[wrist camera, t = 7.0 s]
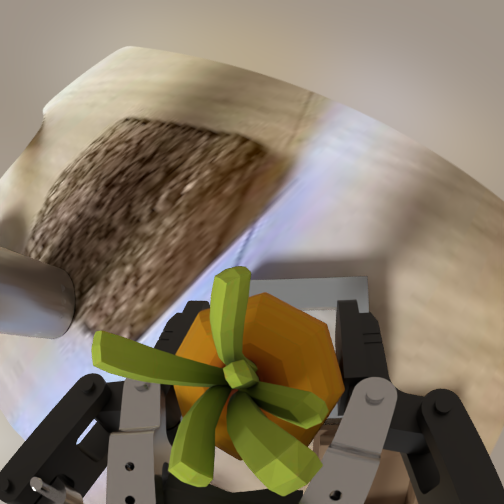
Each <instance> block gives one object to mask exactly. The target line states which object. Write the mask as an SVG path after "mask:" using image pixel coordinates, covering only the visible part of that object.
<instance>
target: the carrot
mask: <svg viewBox="0 0 504 504" xmlns="http://www.w3.org/2000/svg"><path fill="white" fill-rule="evenodd" d="M250 279H251V272H250V271H249V270H248V269H247V268H246V267H243V266H236V267H232V268H228V269H225V270H224V271H222V272H221V273H219V274H217V275H216V276H215V278H214V283H213V288H212V293H211V303H210V308H209V309H205V310H202V311H200V312H199V313H198V315H197V317H196V318H195V320H194V322H193V324H192V326H191V327H190V329H189V331H188V333H187V335H186V336H185V338H184V340H183V342H182V344H181V345H180V347H179V349H178V351H177V353H176V355H173V354H170V353H167V352H164V351H161V350H158V349H155V348H152V347H149V346H146V345H143V344H141V343H138V342H135V341H132V340H130V339H127V338H124V337H122V336H118V335H115V334H112V333H108V332H105V331H97V332H96V333H95V335H94V338H93V344H92V350H91V352H92V360H93V366H95V367H97V368H99V369H102V370H104V371H106V372H108V373H111V374H115V375H118V376H122V377H126V378H130V379H134V380H138V381H143V382H150V383H158V384H168V385H174V389H175V393H176V396H177V400H178V404H179V407H180V411H181V414H182V417H183V419H182V421H181V423H180V425H179V427H178V430H177V433H176V436H175V439H174V442H173V446H172V449H171V455H170V461H169V468H168V471H169V472H170V473H172V474H173V475H174V476H175V477H177V478H178V479H179V480H180V481H182V482H184V483H187V484H190V485H193V486H196V487H206V486H207V485H208V484H209V483H210V482H211V481H212V480H213V472H214V458H215V446H216V447H218V448H219V449H221V450H223V451H224V452H226V453H228V454H229V455H231V456H233V457H235V458H236V459H238V460H243V461H244V462H245V463H246V465H247V466H248V467H249V469H250V470H251V471H252V472H253V473H254V474H255V475H256V476H257V478H258V479H259V480H260V481H261V482H262V483H263V484H264V485H265V486H266V487H267V488H268V489H269V490H271V491H273V492H275V493H277V494H279V495H281V496H286V495H288V494H290V493H292V492H294V491H296V490H297V489H299V488H301V487H303V486H305V485H307V484H308V483H309V482H310V481H311V479H312V478H313V477H314V476H315V475H316V473H317V472H318V471H319V470H320V469H321V468H322V466H323V464H322V463H321V461H320V459H319V458H318V456H317V455H316V453H315V452H313V451H312V450H311V449H309V448H308V446H309V444H310V443H311V442H312V440H313V439H314V437H315V436H316V434H317V433H318V432H319V430H320V429H321V427H322V426H323V424H324V423H325V421H326V420H327V418H328V417H329V415H330V413H331V412H332V410H333V409H334V407H335V406H336V404H337V402H338V401H339V399H340V397H341V396H342V394H343V393H344V391H345V387H344V383H343V379H342V376H341V372H340V368H339V365H338V361H337V358H336V354H335V351H334V347H333V344H332V340H331V337H330V333H329V330H328V326H327V324H326V323H324V322H322V321H320V320H318V319H316V318H314V317H312V316H310V315H309V314H307V313H305V312H303V311H301V310H299V309H297V308H295V307H293V306H291V305H290V304H288V303H286V302H284V301H282V300H280V299H278V298H276V297H274V296H273V295H271V294H269V293H267V292H264V293H260V294H257V295H254V296H250V297H249V290H250Z"/></svg>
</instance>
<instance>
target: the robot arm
mask: <svg viewBox="0 0 504 504" xmlns="http://www.w3.org/2000/svg"><path fill="white" fill-rule="evenodd" d="M74 308H75V293H74V287H73V283H72V281H71V279H70V277H69V275H68V274H67V273H66V272H65V271H64V270H63V269H61V268H58V267H55V266H52V265H49V264H46V263H44V262H41V261H38V260H36V259H33V258H30V257H27V256H24V255H22V254H19V253H16V252H14V251H11V250H8V249H6V248H3V247H0V333H2V334H10V335H18V336H27V337H36V338H47V339H56V338H58V337H61V336H62V335H63V334H64V333H65V332H66V330H67V329H68V327H69V325H70V323H71V321H72V317H73V314H74ZM209 308H210V305H209V302H208V301H188V302H187V304H186V306H185V308H184V310H183V312H182V313H176V314H175V315H174V316H173V317H172V318H171V319H170V320H169V321H168V322H167V324H166V326H165V328H164V330H163V332H162V333H161V335H160V337H159V340H158V341H157V343H156V345H155V347H154V348H155V349H158V350H161V351H164V352H167V353H170V354H173V355H176V353H177V351H178V349H179V347H180V345H181V344H182V342H183V340H184V338H185V336H186V335H187V333H188V331H189V329H190V327H191V326H192V324H193V322H194V320H195V318H196V317H197V315H198V313H199V312H200V311H202V310H205V309H209ZM335 347H336V358H337V361H338V365H339V368H340V372H341V376H342V379H343V383H344V387H345V391H344V393H343V394H342V396H341V397H340V399H339V401H338V402H337V410H338V416H343V418H342V420H341V423H340V425H339V427H338V430H337V432H336V434H335V437H334V439H333V441H332V443H331V444H330V445H329V447H328V448H327V450H326V452H325V454H324V456H323V458H322V460H321V463H322V464H323V466H322V468H321V469H320V470H319V471H318V472H317V473H316V475H315V476H314V477H313V478H312V480H311V482H310V484H309V486H308V487H307V489H306V491H305V493H304V495H303V490H296V491H294V492H292V493H290V494H288V495H286V496H281V495H279V494H277V493H275V492H273V491H271V490H269V489H263V490H255V491H246V492H236V493H232V492H227V491H225V490H222V489H220V488H218V487H215V486H213V485H210V484H208V485H207V486H206V487H196V486H193V485H190V484H187V483H184V482H182V481H180V480H179V479H178V478H177V477H175V476H174V475H173V474H172V473H170V472H169V471H168V468H169V461H170V455H171V449H172V446H173V442H174V439H175V436H176V433H177V430H178V427H179V425H180V423H181V421H182V419H183V417H182V414H181V411H180V407H179V404H178V400H177V396H176V393H175V389H174V385H168V384H158V383H150V382H143V381H138V380H134V379H130V378H126V380H125V381H119V382H109V383H106V382H105V380H104V379H103V377H102V376H100V375H99V374H94V373H92V374H87V375H85V376H83V377H82V378H80V379H79V380H78V381H77V382H76V383H75V385H74V386H73V387H72V388H71V389H70V390H69V391H68V392H67V394H66V395H65V396H64V397H63V398H62V399H61V400H60V401H59V403H58V404H57V405H56V406H55V407H54V408H53V409H52V411H51V412H50V413H49V414H48V415H47V416H46V417H45V419H44V420H43V421H42V422H41V423H40V424H39V426H38V427H37V428H36V429H35V430H34V431H33V433H32V434H31V435H30V436H29V437H28V439H27V440H26V441H25V442H24V443H23V445H22V446H21V447H20V448H19V449H18V451H17V452H16V453H15V454H14V456H13V457H12V458H11V459H10V460H9V462H8V463H7V464H6V465H5V467H4V468H3V469H2V470H1V472H0V500H2V501H3V502H5V503H7V504H84V503H83V497H84V496H85V495H86V493H87V492H88V491H89V489H90V488H91V487H92V485H93V484H94V483H95V481H96V480H97V479H98V477H99V476H100V475H101V473H102V472H103V471H104V469H105V468H106V467H107V488H106V504H364V502H365V500H366V497H367V495H368V492H369V490H370V487H371V485H372V482H373V480H374V477H375V475H376V472H377V469H378V466H379V463H380V459H381V457H380V455H381V452H382V449H385V450H390V451H395V452H400V454H401V456H402V459H403V462H404V465H405V467H406V470H407V473H408V476H409V478H410V481H411V484H412V487H413V490H414V493H415V496H416V498H417V501H418V504H504V488H503V486H502V483H501V481H500V479H499V476H498V474H497V472H496V469H495V468H494V465H493V463H492V461H491V459H490V456H489V454H488V452H487V450H486V448H485V446H484V444H483V442H482V440H481V438H480V436H479V434H478V432H477V430H476V428H475V426H474V424H473V422H472V420H471V419H470V417H469V415H468V413H467V411H466V409H465V407H464V406H463V404H462V402H461V400H460V399H459V397H458V396H457V395H456V394H455V393H454V392H452V391H450V390H447V389H436V390H433V391H431V392H429V393H428V394H427V395H426V396H425V397H423V396H417V395H412V394H407V393H404V392H402V391H400V390H398V389H397V388H396V387H395V386H394V385H393V384H392V382H391V381H390V378H389V374H388V369H387V363H386V358H385V353H384V347H383V344H382V338H381V335H380V328H379V324H378V321H377V320H376V319H375V317H374V316H373V315H372V314H371V312H368V313H359V308H358V303H357V299H352V300H337V312H336V329H335ZM93 419H95V420H96V421H97V422H96V424H95V425H94V426H93V427H92V429H91V430H90V431H89V432H88V434H87V435H86V436H85V437H84V439H83V440H82V441H81V442H80V443H79V444H77V445H76V442H77V440H78V438H79V437H80V435H81V434H82V433H83V432H84V431H85V429H86V428H87V427H88V426H89V424H90V423H91V422H92V421H93Z"/></svg>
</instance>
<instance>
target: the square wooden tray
mask: <svg viewBox="0 0 504 504" xmlns="http://www.w3.org/2000/svg"><path fill="white" fill-rule="evenodd" d="M339 425H340V424H336V425H323V426H322V427H321V429H320V430H319V432H318V433H317V434H316V436H315V437H314V443H313V452H315V453H316V455H317V456H318V458H319V459H320V461H321V460H322V458H323V456H324V454H325V452H326V450H327V448H328V447H329V445H330V444H331V443H332V441H333V439H334V437H335V434H336V432H337V430H338V427H339ZM380 457H381V459H380V463H379V466H378V469H377V472H376V475H375V477H374V480H373V482H372V485H371V487H370V490H369V492H368V495H367V497H366V500H365V502H364V504H418V501H417V498H416V496H415V493H414V490H413V487H412V484H411V481H410V478H409V476H408V473H407V470H406V467H405V465H404V462H403V459H402V456H401V454H400V452H395V451H390V450H385V449H382V452H381V455H380ZM311 480H312V479H311ZM310 482H311V481H310Z"/></svg>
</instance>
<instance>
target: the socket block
mask: <svg viewBox="0 0 504 504" xmlns="http://www.w3.org/2000/svg"><path fill="white" fill-rule="evenodd" d="M264 292H267V293H269V294H271V295H273V296H274V297H276V298H278V299H280V300H282V301H284V302H286V303H288V304H290V305H291V306H293V307H295V308H297V309H299V310H301V311H307V310H337V300H352V299H357V303H358V308H359V313H368V312H369V301H368V279H367V276H358V277H334V278H307V279H273V280H250V290H249V297H250V296H254V295H257V294H260V293H264ZM328 418H343V416H338V410H337V404H336V406H335V407H334V409H333V410H332V412H331V413H330V415H329V417H328Z"/></svg>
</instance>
